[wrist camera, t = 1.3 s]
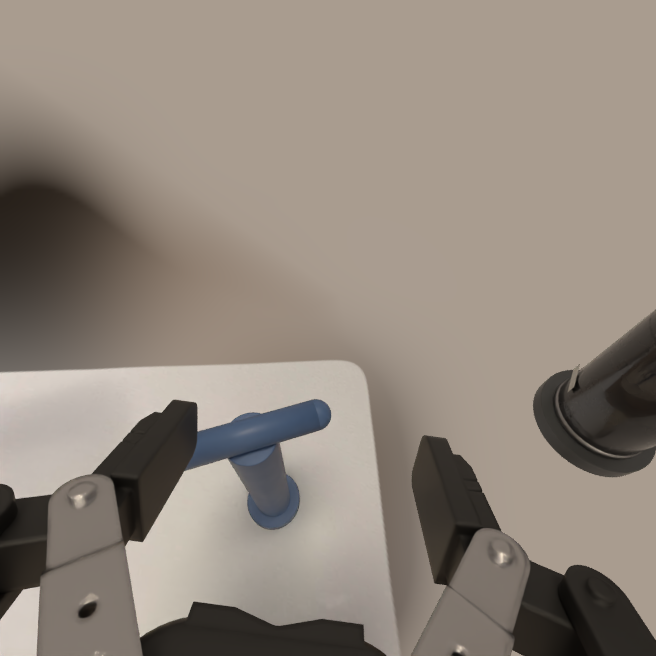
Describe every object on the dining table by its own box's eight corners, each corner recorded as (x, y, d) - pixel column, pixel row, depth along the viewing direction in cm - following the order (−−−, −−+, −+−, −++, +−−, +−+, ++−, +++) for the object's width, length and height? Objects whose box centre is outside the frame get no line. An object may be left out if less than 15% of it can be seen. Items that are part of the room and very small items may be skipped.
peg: (328, 510, 30) (345, 445, 17) (228, 546, 29) (153, 506, 15) (314, 461, 33) (318, 368, 19) (221, 490, 31) (150, 411, 17)
